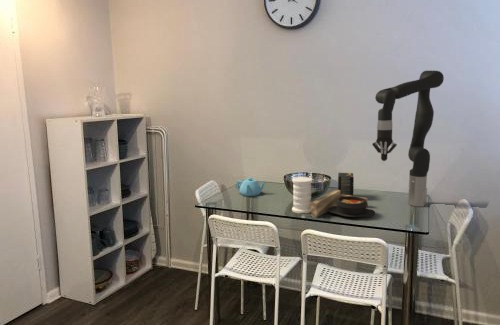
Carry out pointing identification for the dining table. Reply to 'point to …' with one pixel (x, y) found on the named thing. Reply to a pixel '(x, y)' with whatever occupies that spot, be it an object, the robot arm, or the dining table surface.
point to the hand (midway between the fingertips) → (384, 160)
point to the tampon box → (346, 183)
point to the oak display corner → (326, 203)
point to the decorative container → (302, 195)
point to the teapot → (249, 187)
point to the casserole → (351, 207)
